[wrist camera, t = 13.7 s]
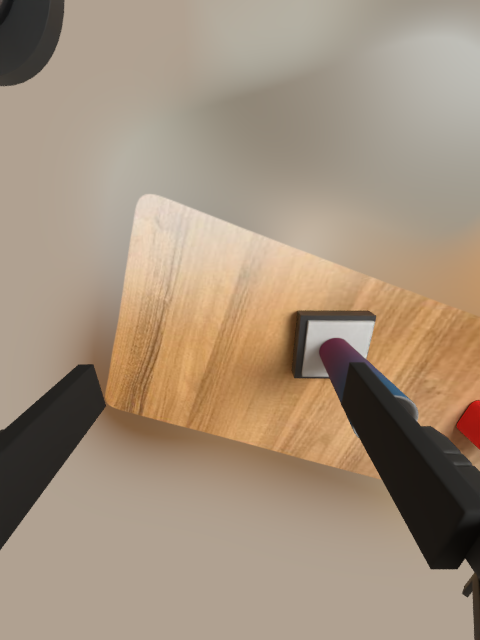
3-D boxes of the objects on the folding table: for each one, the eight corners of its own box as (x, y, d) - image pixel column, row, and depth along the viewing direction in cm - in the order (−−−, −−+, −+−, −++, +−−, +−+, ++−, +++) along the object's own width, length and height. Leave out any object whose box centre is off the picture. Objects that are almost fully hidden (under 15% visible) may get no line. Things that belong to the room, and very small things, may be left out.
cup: (334, 374, 40) (382, 453, 26) (305, 355, 39) (339, 426, 25) (364, 346, 38) (432, 415, 24) (333, 324, 37) (387, 384, 23)
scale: (297, 310, 39) (301, 316, 36) (369, 310, 39) (378, 317, 36) (291, 370, 44) (294, 380, 41) (355, 371, 44) (363, 380, 41)
